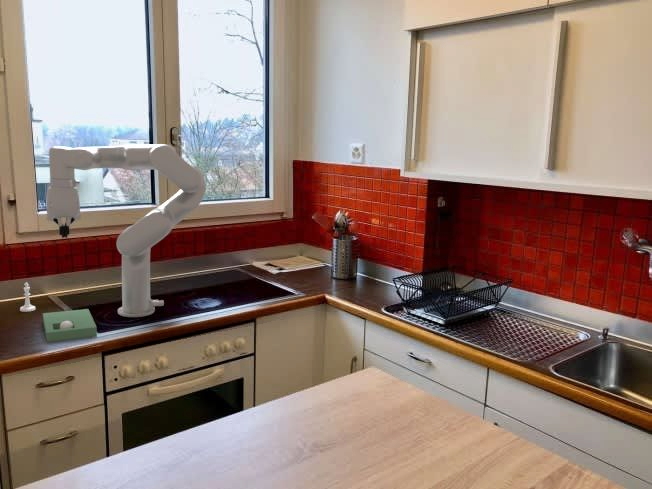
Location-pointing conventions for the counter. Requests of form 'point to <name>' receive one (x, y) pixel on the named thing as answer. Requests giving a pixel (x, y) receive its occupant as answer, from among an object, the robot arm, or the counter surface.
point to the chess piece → (27, 300)
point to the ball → (66, 325)
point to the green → (81, 328)
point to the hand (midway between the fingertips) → (64, 237)
